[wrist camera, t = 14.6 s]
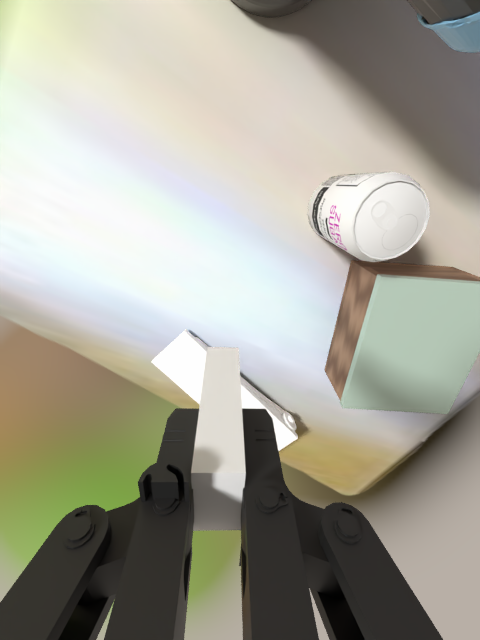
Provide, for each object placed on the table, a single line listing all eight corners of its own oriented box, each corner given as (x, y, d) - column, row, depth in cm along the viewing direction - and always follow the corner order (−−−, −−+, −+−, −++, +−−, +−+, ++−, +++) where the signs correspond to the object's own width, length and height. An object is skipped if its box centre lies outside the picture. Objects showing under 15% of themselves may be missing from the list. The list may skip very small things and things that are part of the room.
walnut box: (351, 260, 43) (376, 276, 36) (456, 267, 44) (500, 283, 37) (324, 370, 52) (340, 400, 44) (412, 373, 53) (441, 404, 45)
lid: (377, 273, 35) (381, 276, 34) (505, 283, 36) (513, 286, 35) (340, 402, 44) (342, 408, 43) (442, 408, 45) (447, 414, 44)
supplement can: (377, 204, 40) (454, 216, 26) (332, 250, 42) (381, 282, 29) (338, 160, 37) (402, 148, 24) (293, 212, 40) (327, 228, 26)
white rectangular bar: (165, 342, 55) (263, 432, 61) (146, 366, 48) (257, 463, 54) (197, 314, 50) (301, 414, 56) (180, 336, 43) (298, 447, 49)
